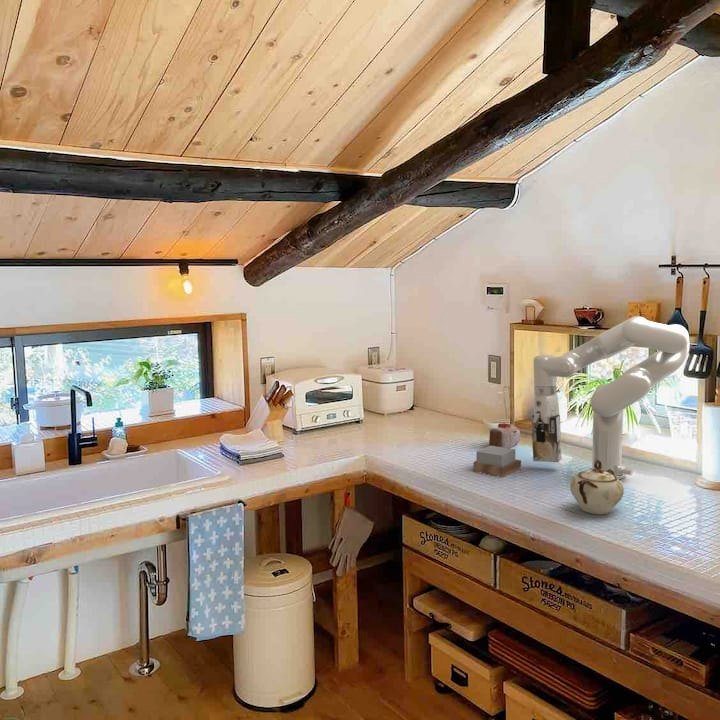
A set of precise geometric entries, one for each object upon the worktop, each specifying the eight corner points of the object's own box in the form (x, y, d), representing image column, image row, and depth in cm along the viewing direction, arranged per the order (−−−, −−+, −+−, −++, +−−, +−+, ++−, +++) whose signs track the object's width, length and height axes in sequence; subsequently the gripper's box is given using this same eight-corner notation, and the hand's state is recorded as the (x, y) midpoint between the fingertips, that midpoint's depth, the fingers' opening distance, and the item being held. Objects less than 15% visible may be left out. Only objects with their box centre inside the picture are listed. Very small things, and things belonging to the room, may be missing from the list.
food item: (504, 442, 293) (504, 418, 292) (522, 445, 288) (522, 421, 287) (487, 449, 283) (487, 424, 282) (504, 452, 278) (504, 427, 277)
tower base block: (520, 471, 253) (521, 460, 252) (502, 479, 244) (502, 467, 244) (492, 465, 261) (492, 454, 261) (473, 472, 252) (473, 461, 252)
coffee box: (562, 458, 252) (561, 414, 251) (558, 463, 247) (557, 417, 245) (536, 456, 257) (535, 413, 255) (532, 461, 251) (530, 416, 249)
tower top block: (515, 460, 253) (515, 449, 252) (501, 466, 245) (501, 455, 244) (490, 456, 259) (490, 445, 258) (476, 462, 251) (476, 451, 251)
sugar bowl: (589, 496, 222) (589, 449, 220) (635, 506, 212) (637, 457, 210) (556, 512, 209) (557, 462, 207) (604, 524, 198) (605, 472, 196)
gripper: (542, 395, 240) (543, 446, 242) (567, 387, 253) (568, 436, 255) (522, 393, 245) (524, 443, 247) (548, 386, 258) (549, 433, 260)
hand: (546, 439), depth 251 cm, fingers closed on coffee box, 7 cm apart
